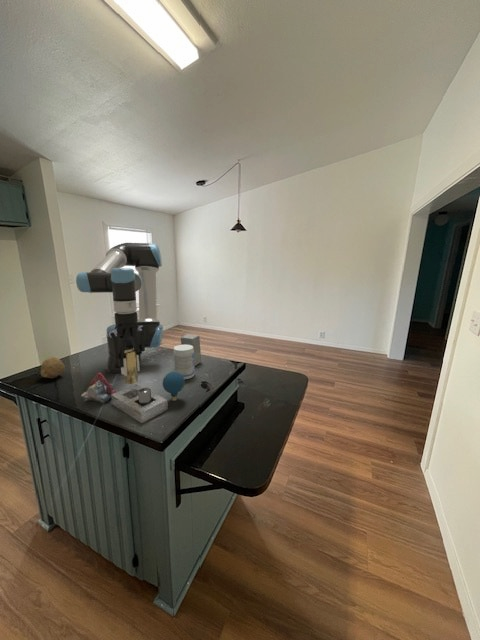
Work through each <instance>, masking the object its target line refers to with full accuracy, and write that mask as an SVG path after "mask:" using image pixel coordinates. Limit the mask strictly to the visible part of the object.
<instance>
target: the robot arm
mask: <svg viewBox="0 0 480 640" xmlns="http://www.w3.org/2000/svg"><path fill="white" fill-rule="evenodd" d="M162 262H163V261H162V256H161V251H160V247H159V245H158V244H156V243H149V242H145V243H143V242H123V243H120V244H119V243H118V244H116V245H114V246H112V247H111V248H110V249H108V250H107V251H106V253H105V256H104V258H103V259H102V260H101V261H100V262H99V263H98V264H96V266H95V267H93V269H91V271H90V272H87V271H85V272H79V273H78V274H76V279H75V283H76V287H77V289H78V291H79V292H81V293H90V294H93V293H104V294H105V293H112V302H113V303H112V304H113V312H114V322H115V323H114V324H112V325H108V327H107V328H106V342H107V353H108V356H107V360H106V364H105V371H106V372H108V371H109V372H108V373H110V372H113V373H112V374H121V375H123V376H124V377H125V376H126V375H127V365H126V358H124V352H125V350H135V351H136V365H137V372H140V362H141V360H142V359H141V356H142V354H143V352H145V350H146V349H148V348H149V349H151V348H158V347H159V346H161V344H162V340H163V335H164V326H163V324H160V323H161V321H160V320H159V319H158V317H157V315H158V314H157V272H159V271H160V268H161V267H163V266H162V265H163V263H162ZM126 266H128V267H130V266H131V267H134V268H135V271H137V273H135V271H134V269H133V268H128V267H127V268H126ZM124 267H125V268H124ZM136 292H138V306H137V295H136ZM137 307H138V308H137ZM137 309H138V312H137Z"/></svg>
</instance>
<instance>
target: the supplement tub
mask: <svg viewBox="0 0 480 640" xmlns="http://www.w3.org/2000/svg"><path fill="white" fill-rule="evenodd" d="M173 367H174V368H173V372H178V373H180V374H181V375H182V376H183V377H184V380H188V379H192V378H193V377H194V376H195V366H194V349H193V346H192V345H181V344H178V345H175V346H174V347H173Z"/></svg>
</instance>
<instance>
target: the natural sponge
mask: <svg viewBox="0 0 480 640" xmlns="http://www.w3.org/2000/svg"><path fill="white" fill-rule="evenodd" d="M65 370H66V365H65V363H63V361H62V360H61V359H60V358H58V357H55V356H53V357H48V358H46V359H44V360H43V361H42V363H41V366H40V376H41V377H42V378H49V379H55V378H57V377H58V376H59V375H60V374H62V373H63V372H64V371H65Z"/></svg>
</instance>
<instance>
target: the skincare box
mask: <svg viewBox="0 0 480 640" xmlns="http://www.w3.org/2000/svg"><path fill="white" fill-rule="evenodd" d="M200 338H201V337H200V335H199V334H198V335H197V334H189V333H187V334H184V335H183V336H181V337H180V345H192V346H193V349H194V367H195V366H197V365H199V364H201V363H202V356H201V355H202V354H201V341H200Z"/></svg>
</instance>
